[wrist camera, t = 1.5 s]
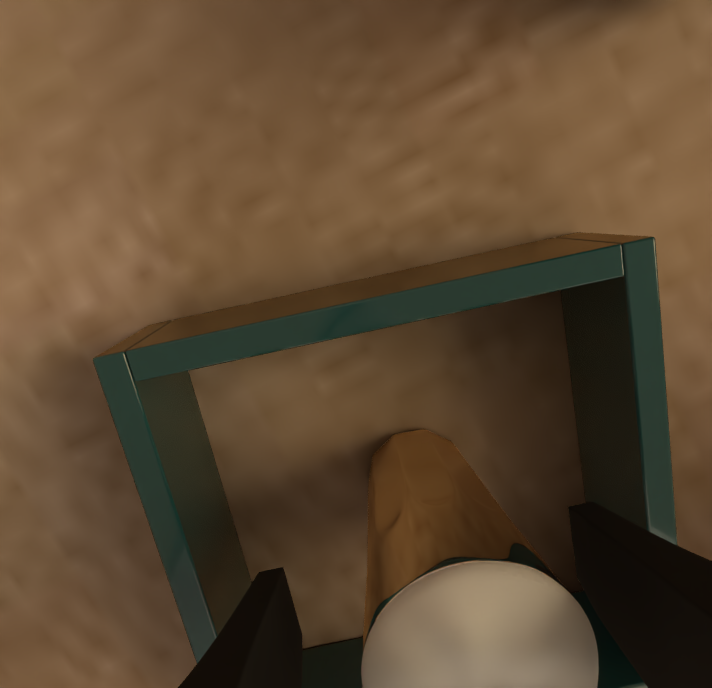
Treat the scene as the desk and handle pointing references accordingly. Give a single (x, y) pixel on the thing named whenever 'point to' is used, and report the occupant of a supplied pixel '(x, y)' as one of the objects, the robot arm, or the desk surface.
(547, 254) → the holder
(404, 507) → the milkshake
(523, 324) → the desk surface
